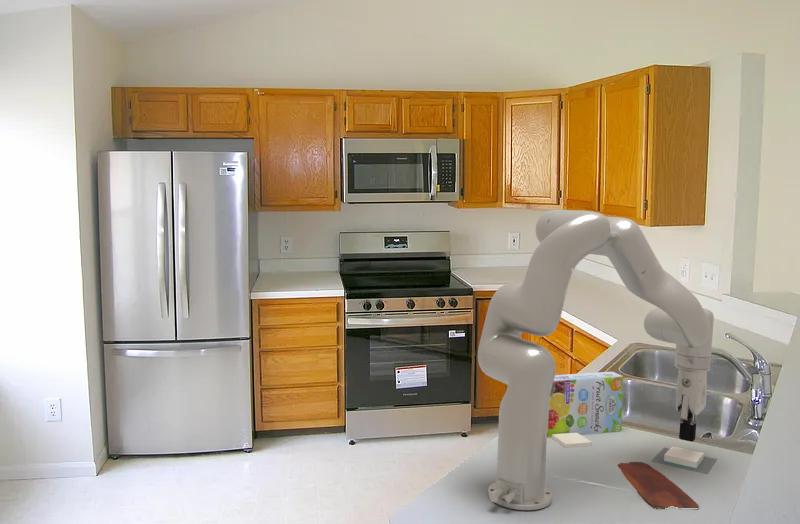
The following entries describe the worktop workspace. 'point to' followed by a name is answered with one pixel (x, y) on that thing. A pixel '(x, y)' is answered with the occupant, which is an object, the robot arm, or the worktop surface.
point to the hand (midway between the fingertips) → (687, 439)
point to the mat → (703, 467)
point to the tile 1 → (571, 440)
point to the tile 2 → (683, 457)
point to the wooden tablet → (655, 486)
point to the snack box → (585, 403)
